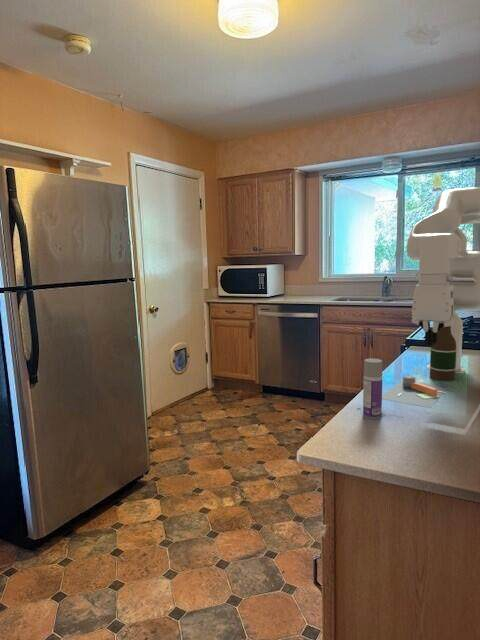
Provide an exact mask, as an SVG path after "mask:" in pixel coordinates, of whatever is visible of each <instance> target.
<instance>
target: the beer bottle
mask: <svg viewBox="0 0 480 640" xmlns="http://www.w3.org/2000/svg"><path fill="white" fill-rule="evenodd" d="M429 364H430V369H429V378H430V379H432V380H435V381H440V382H441V381H442V382H452V381H454V380H455V378H456V373H455V368H456V341H455V338H454V337H453V335H452V334H451V326H447V327H442V328H441V329H440V330H439V331H438V341H437V343H435V345H434V346H430V360H429Z"/></svg>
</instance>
